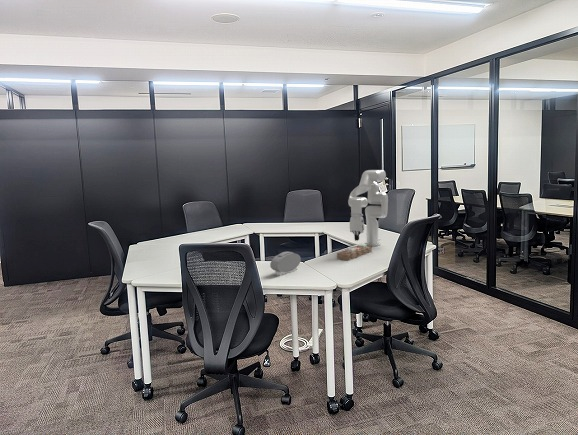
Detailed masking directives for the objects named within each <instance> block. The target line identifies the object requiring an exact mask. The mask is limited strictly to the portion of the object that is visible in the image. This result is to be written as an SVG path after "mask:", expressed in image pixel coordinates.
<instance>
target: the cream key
mask: <svg viewBox="0 0 578 435" xmlns="http://www.w3.org/2000/svg"><path fill="white" fill-rule="evenodd" d="M345 250H346V251H347V252H354V251H356V248H353V247H348V248H346V249H345Z"/></svg>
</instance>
